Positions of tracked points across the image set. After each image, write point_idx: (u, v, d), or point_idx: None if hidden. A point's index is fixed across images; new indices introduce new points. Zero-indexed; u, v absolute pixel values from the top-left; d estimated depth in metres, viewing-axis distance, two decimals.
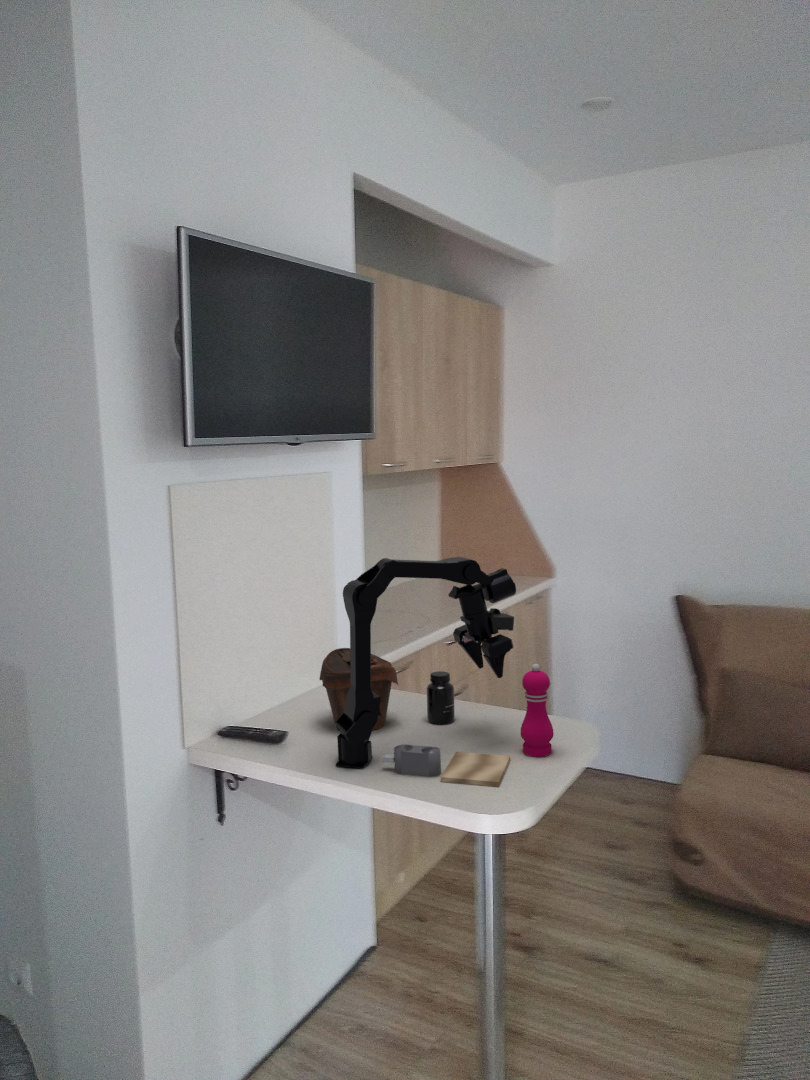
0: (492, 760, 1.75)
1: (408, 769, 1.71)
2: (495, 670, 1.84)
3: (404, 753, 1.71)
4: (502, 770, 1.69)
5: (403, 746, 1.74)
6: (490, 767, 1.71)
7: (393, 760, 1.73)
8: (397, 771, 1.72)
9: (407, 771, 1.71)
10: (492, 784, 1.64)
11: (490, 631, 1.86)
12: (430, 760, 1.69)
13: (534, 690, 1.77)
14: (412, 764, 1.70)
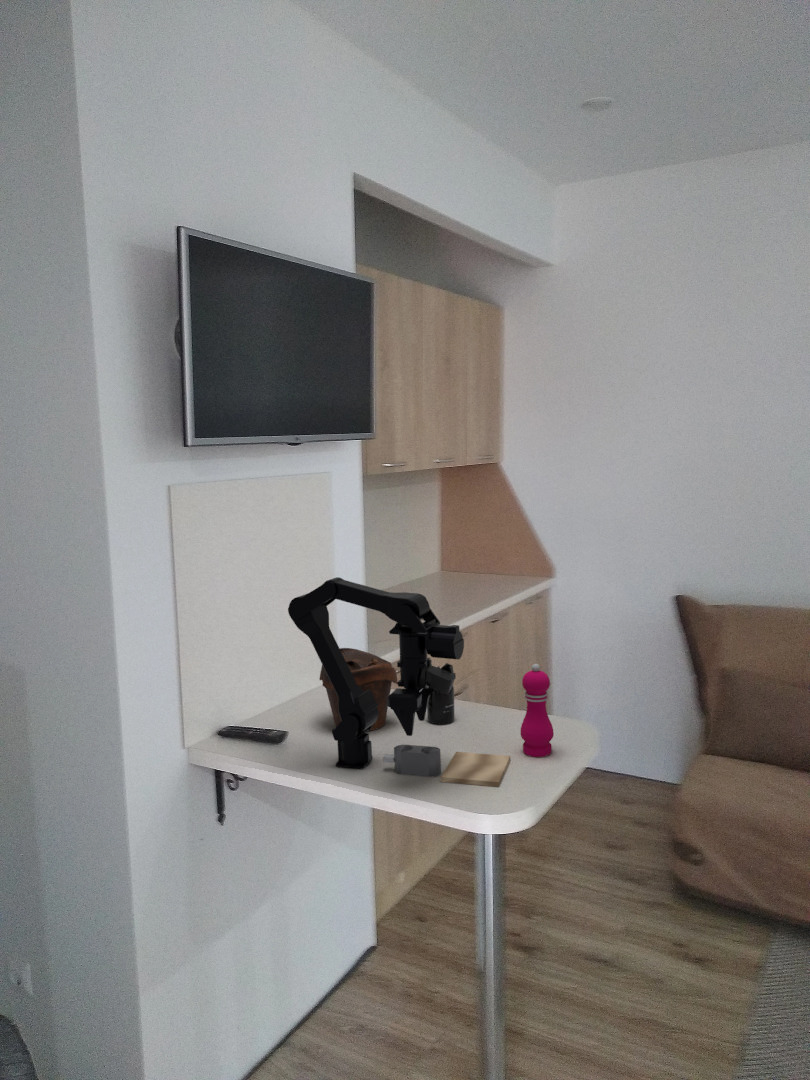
0: (492, 760, 1.75)
1: (408, 769, 1.71)
2: (402, 724, 1.66)
3: (404, 753, 1.71)
4: (502, 770, 1.69)
5: (403, 746, 1.74)
6: (490, 767, 1.71)
7: (393, 760, 1.73)
8: (397, 771, 1.72)
9: (407, 771, 1.71)
10: (492, 784, 1.64)
11: (417, 683, 1.67)
12: (430, 760, 1.69)
13: (534, 690, 1.77)
14: (412, 764, 1.70)
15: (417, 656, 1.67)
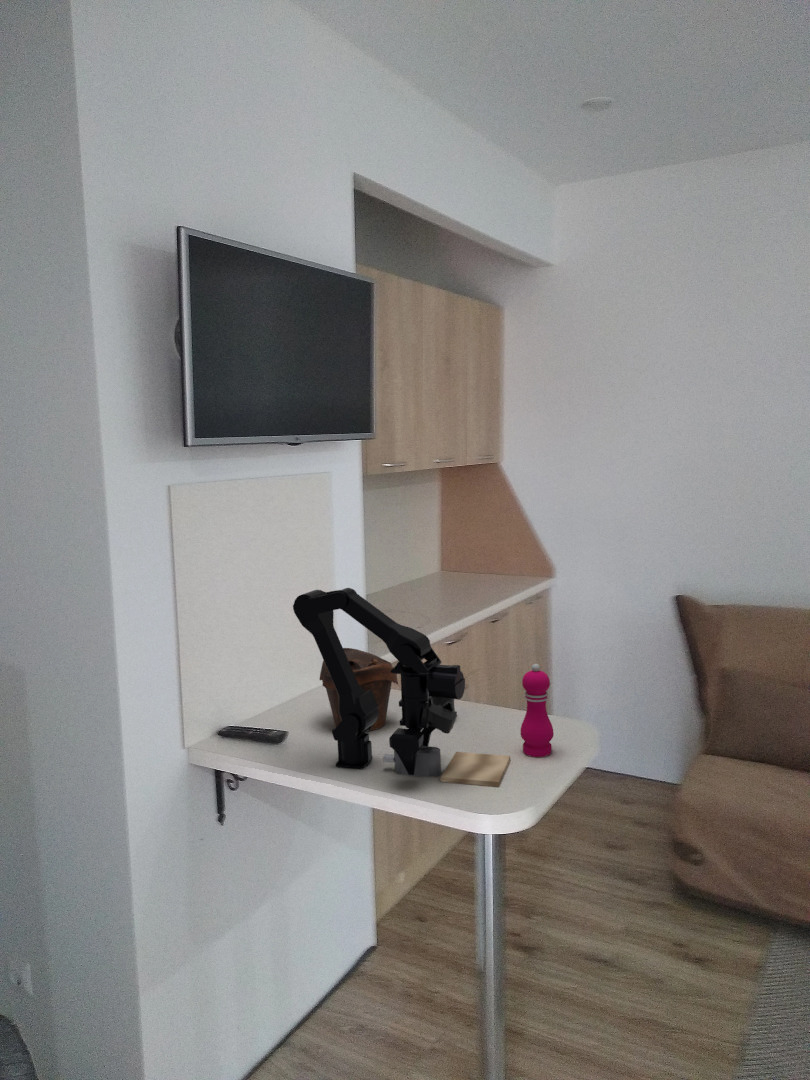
0: (492, 760, 1.75)
1: None
2: (404, 764, 1.67)
3: None
4: (502, 770, 1.69)
5: None
6: (490, 767, 1.71)
7: (393, 760, 1.73)
8: (397, 771, 1.72)
9: None
10: (492, 784, 1.64)
11: (419, 723, 1.68)
12: (430, 760, 1.69)
13: (534, 690, 1.77)
14: None
15: (418, 696, 1.68)
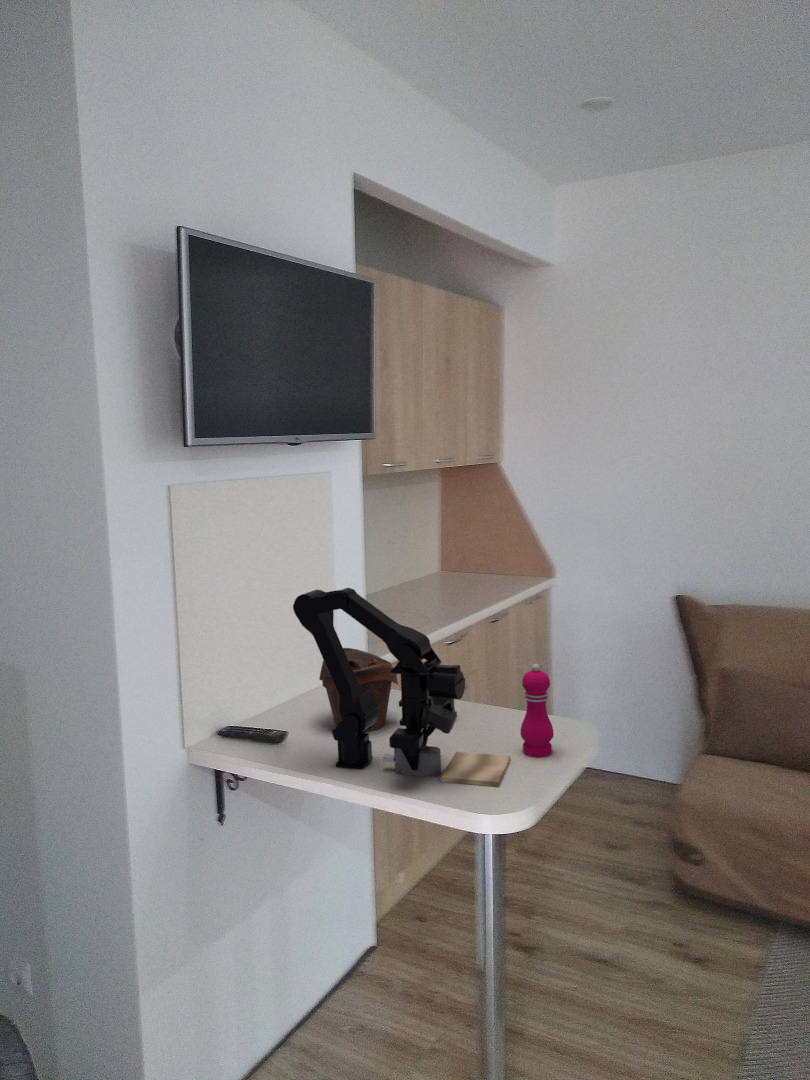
0: (492, 760, 1.75)
1: (408, 769, 1.71)
2: (407, 759, 1.69)
3: None
4: (502, 770, 1.69)
5: None
6: (490, 767, 1.71)
7: (393, 760, 1.73)
8: (397, 771, 1.72)
9: (407, 771, 1.71)
10: (492, 784, 1.64)
11: (419, 723, 1.68)
12: (430, 760, 1.69)
13: (534, 690, 1.77)
14: None
15: (418, 696, 1.68)
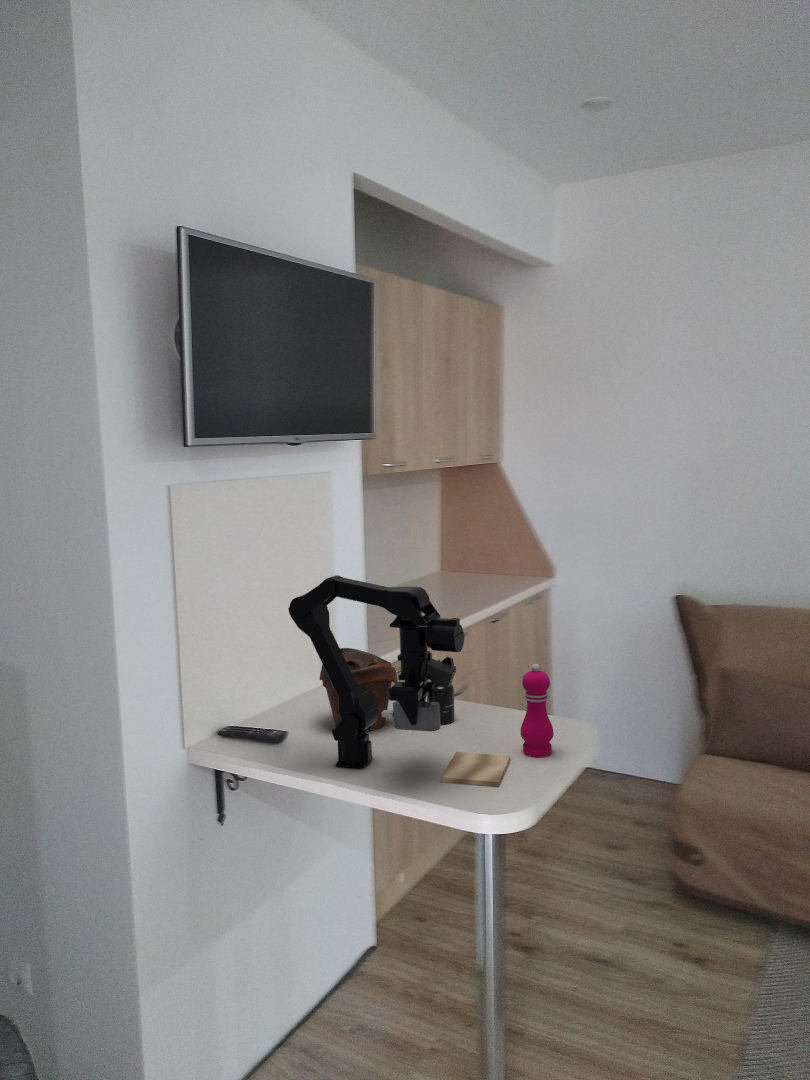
0: (492, 760, 1.75)
1: (407, 724, 1.70)
2: (406, 714, 1.68)
3: None
4: (502, 770, 1.69)
5: None
6: (490, 767, 1.71)
7: (392, 715, 1.71)
8: (396, 726, 1.71)
9: (406, 726, 1.70)
10: (492, 784, 1.64)
11: (418, 676, 1.67)
12: (429, 715, 1.68)
13: (534, 690, 1.77)
14: None
15: (417, 649, 1.66)
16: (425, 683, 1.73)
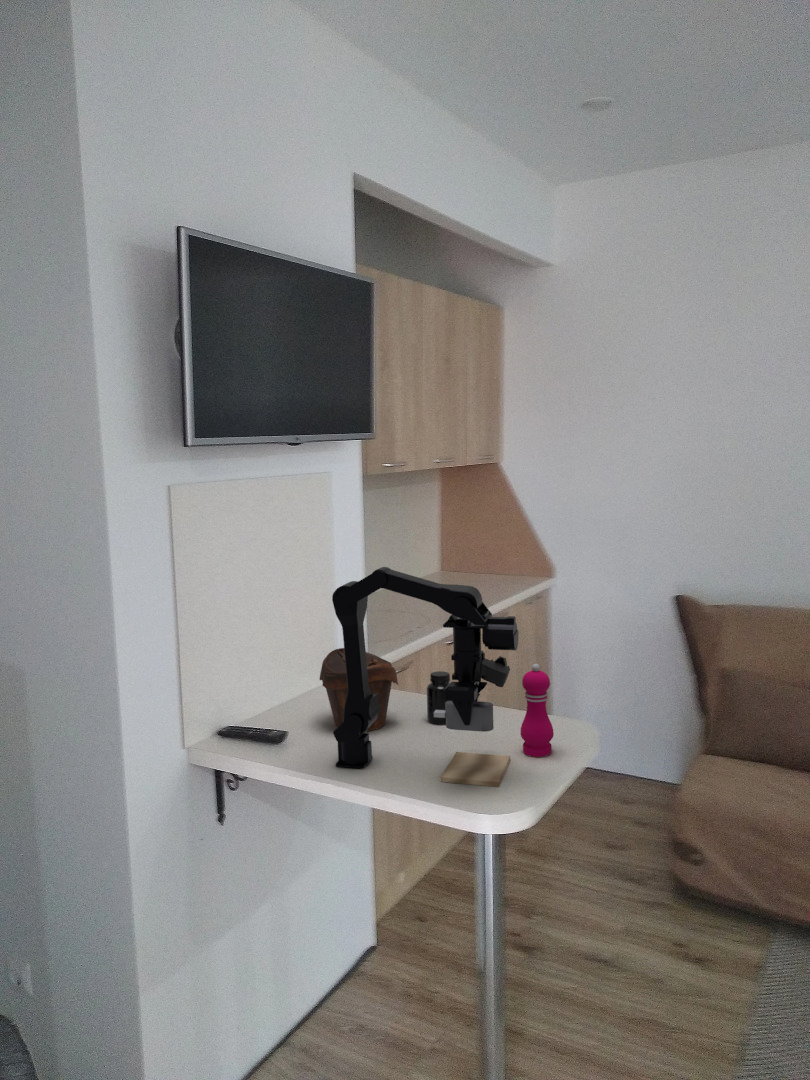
0: (492, 760, 1.75)
1: (460, 724, 1.68)
2: (460, 714, 1.67)
3: None
4: (502, 770, 1.69)
5: None
6: (490, 767, 1.71)
7: (444, 715, 1.70)
8: (449, 726, 1.69)
9: (459, 726, 1.68)
10: (492, 784, 1.64)
11: (472, 676, 1.66)
12: (483, 715, 1.67)
13: (534, 690, 1.77)
14: None
15: (473, 649, 1.65)
16: (477, 683, 1.72)
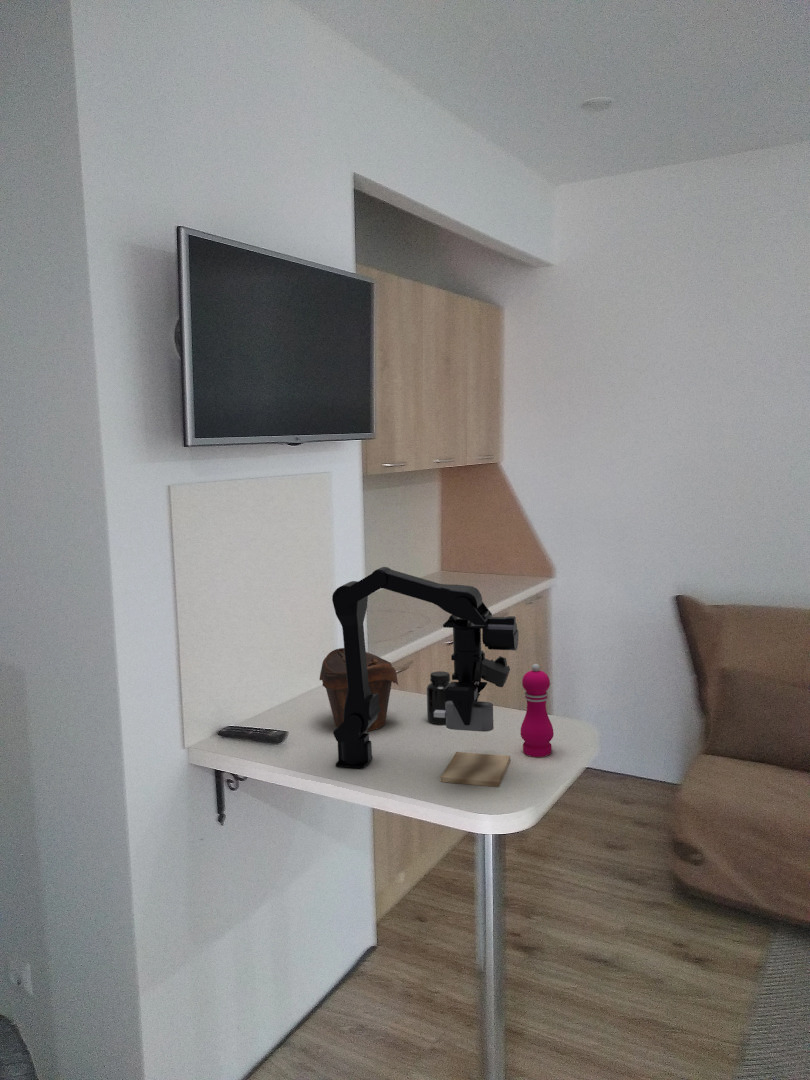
0: (492, 760, 1.75)
1: (460, 724, 1.68)
2: (460, 714, 1.67)
3: None
4: (502, 770, 1.69)
5: None
6: (490, 767, 1.71)
7: (444, 715, 1.70)
8: (449, 726, 1.69)
9: (459, 726, 1.68)
10: (492, 784, 1.64)
11: (472, 676, 1.66)
12: (483, 715, 1.67)
13: (534, 690, 1.76)
14: None
15: (473, 649, 1.65)
16: (477, 683, 1.72)
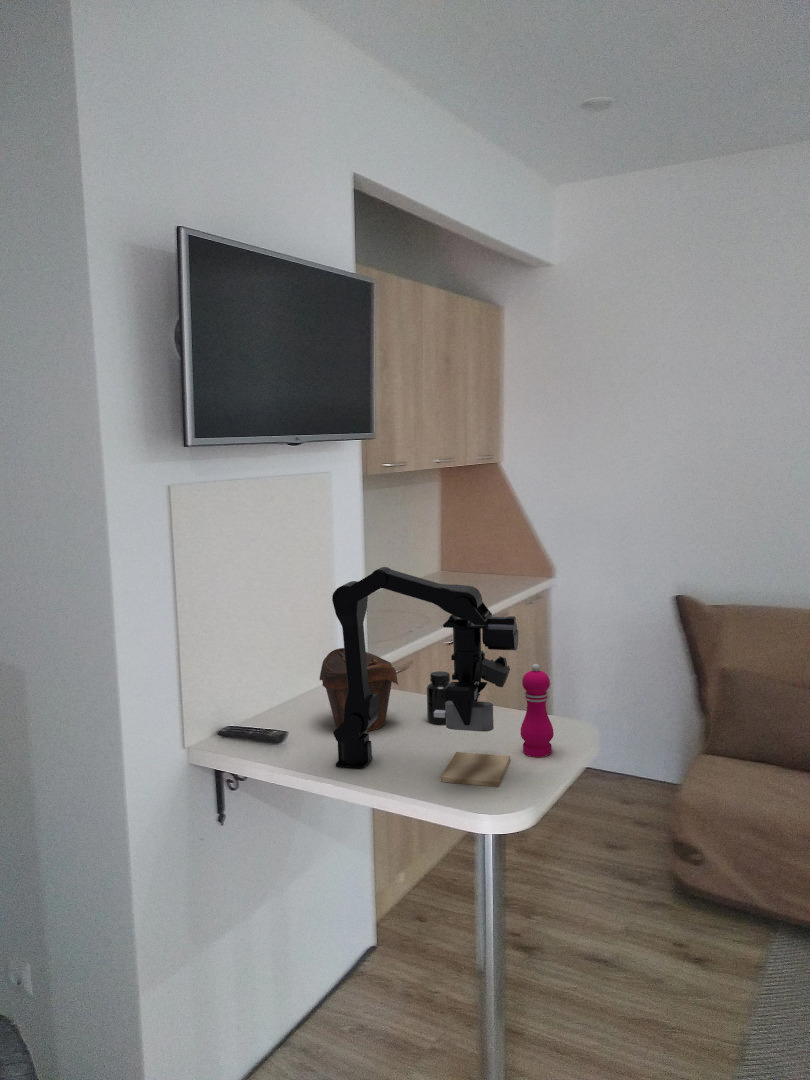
0: (492, 760, 1.75)
1: (460, 724, 1.68)
2: (460, 714, 1.67)
3: None
4: (502, 770, 1.69)
5: None
6: (490, 767, 1.71)
7: (444, 715, 1.70)
8: (449, 726, 1.69)
9: (459, 726, 1.68)
10: (492, 784, 1.64)
11: (472, 676, 1.66)
12: (483, 715, 1.67)
13: (534, 690, 1.77)
14: None
15: (473, 649, 1.65)
16: (477, 683, 1.72)
